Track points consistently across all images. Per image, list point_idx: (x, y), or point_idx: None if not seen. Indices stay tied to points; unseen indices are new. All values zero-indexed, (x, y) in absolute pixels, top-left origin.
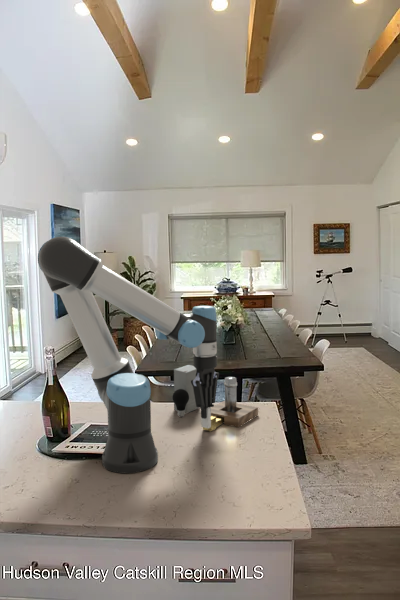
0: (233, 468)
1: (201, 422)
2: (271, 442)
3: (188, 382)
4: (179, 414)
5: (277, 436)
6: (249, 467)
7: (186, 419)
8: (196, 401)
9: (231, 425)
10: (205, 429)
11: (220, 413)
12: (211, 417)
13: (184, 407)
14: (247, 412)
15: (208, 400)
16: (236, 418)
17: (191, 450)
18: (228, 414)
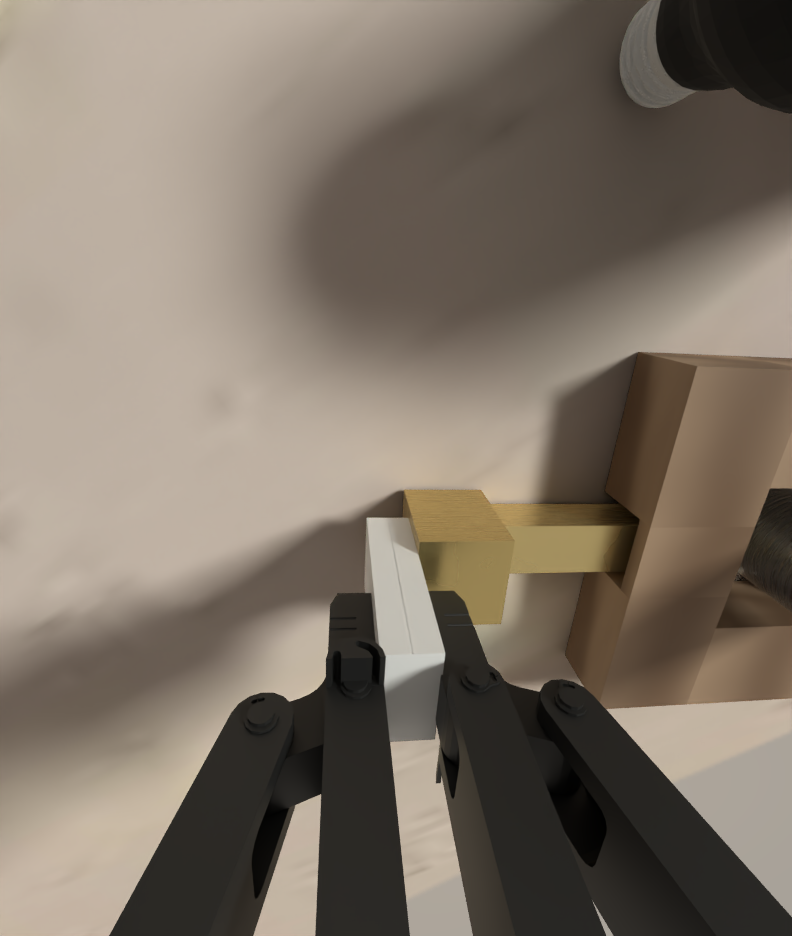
0: (10, 887)
1: (369, 539)
2: (423, 856)
3: None
4: (627, 52)
5: None
6: (82, 917)
7: (590, 184)
8: (182, 823)
9: (577, 611)
10: (403, 516)
11: (674, 548)
12: (474, 597)
13: (719, 86)
14: (752, 693)
15: (455, 810)
16: (600, 693)
17: (4, 634)
18: (667, 612)
